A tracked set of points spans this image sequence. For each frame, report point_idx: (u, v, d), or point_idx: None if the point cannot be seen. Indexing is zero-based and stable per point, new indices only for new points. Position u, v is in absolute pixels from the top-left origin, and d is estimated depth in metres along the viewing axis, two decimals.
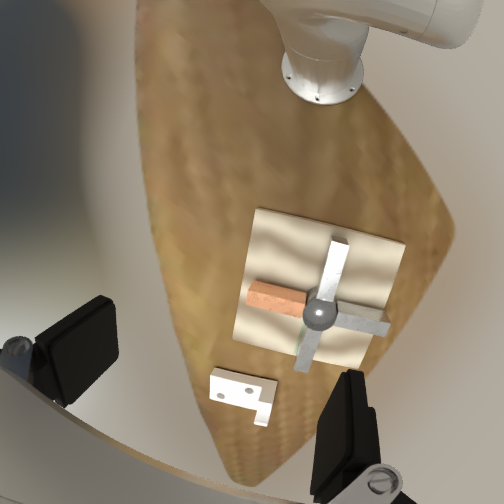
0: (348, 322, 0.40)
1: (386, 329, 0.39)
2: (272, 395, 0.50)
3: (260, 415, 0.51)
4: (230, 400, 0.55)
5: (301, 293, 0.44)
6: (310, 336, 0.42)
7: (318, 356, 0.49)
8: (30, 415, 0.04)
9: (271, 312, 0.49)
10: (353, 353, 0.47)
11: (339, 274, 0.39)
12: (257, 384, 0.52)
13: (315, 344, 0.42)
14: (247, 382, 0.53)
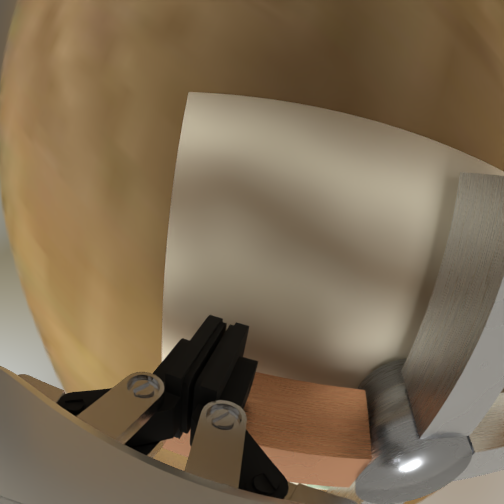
0: (488, 463, 0.07)
1: None
2: None
3: None
4: None
5: (351, 398, 0.11)
6: None
7: None
8: (30, 415, 0.04)
9: None
10: None
11: None
12: None
13: None
14: None
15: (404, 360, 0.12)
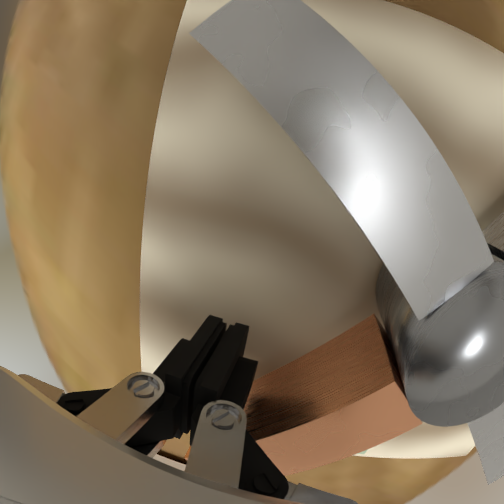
0: None
1: None
2: None
3: None
4: None
5: (360, 332, 0.10)
6: (491, 425, 0.06)
7: (385, 449, 0.14)
8: (30, 415, 0.04)
9: None
10: None
11: (393, 102, 0.05)
12: None
13: None
14: None
15: None
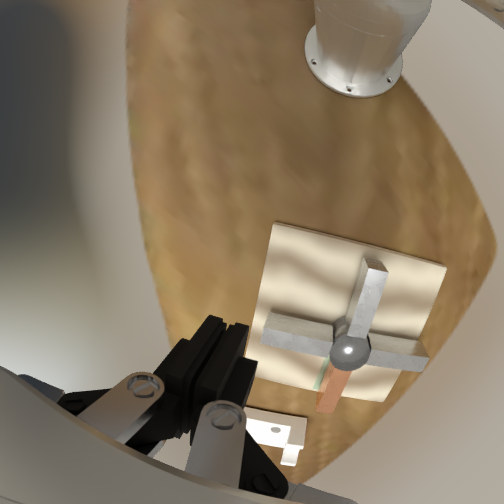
0: (362, 323, 0.31)
1: (377, 272, 0.29)
2: (303, 435, 0.41)
3: (287, 455, 0.42)
4: (253, 438, 0.45)
5: None
6: (377, 361, 0.32)
7: None
8: (30, 415, 0.04)
9: None
10: (379, 386, 0.39)
11: (298, 336, 0.33)
12: (285, 423, 0.43)
13: (389, 354, 0.31)
14: (274, 421, 0.44)
15: None
